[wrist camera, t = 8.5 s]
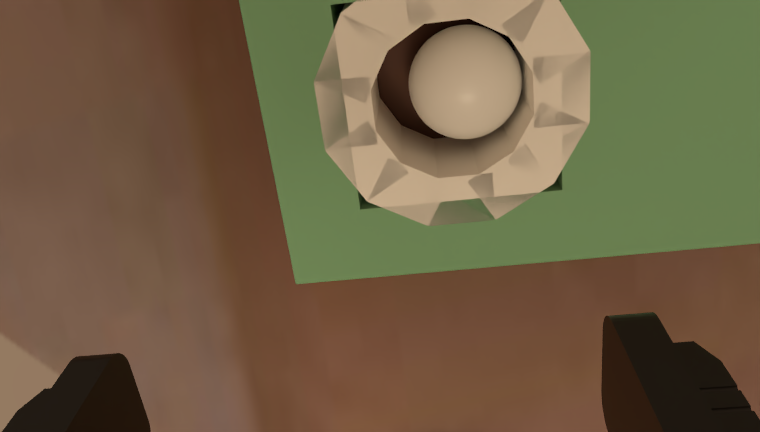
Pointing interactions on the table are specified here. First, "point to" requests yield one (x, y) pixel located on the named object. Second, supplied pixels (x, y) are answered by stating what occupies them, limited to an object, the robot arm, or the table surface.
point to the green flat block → (513, 135)
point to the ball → (465, 81)
